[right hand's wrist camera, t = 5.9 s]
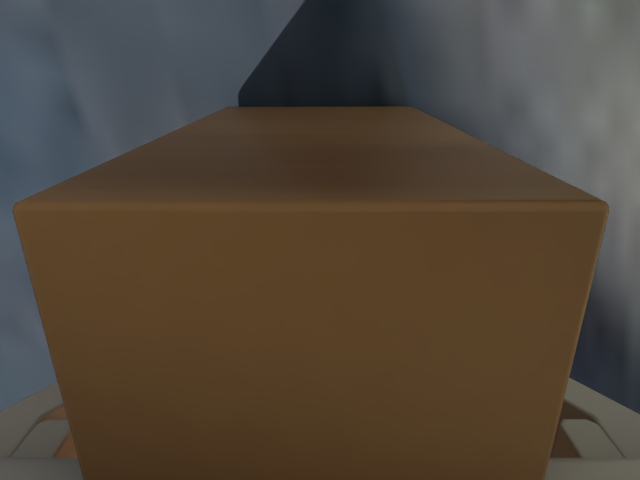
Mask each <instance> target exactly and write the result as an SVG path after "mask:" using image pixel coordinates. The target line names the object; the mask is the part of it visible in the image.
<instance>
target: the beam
mask: <svg viewBox="0 0 640 480" xmlns="http://www.w3.org/2000/svg"><path fill="white" fill-rule="evenodd" d="M608 214H609V207H608V204H607V203H606V202H604V201H602V200H600V199H598V198H596V197H594V196H592V195H590V194H588V193H586V192H584V191H582V190H580V189H578V188H576V187H574V186H572V185H570V184H568V183H566V182H564V181H562V180H560V179H558V178H556V177H554V176H552V175H550V174H548V173H546V172H544V171H542V170H540V169H538V168H536V167H534V166H531V165H529V164H527V163H525V162H523V161H521V160H519V159H517V158H515V157H513V156H511V155H509V154H507V153H505V152H503V151H501V150H499V149H497V148H495V147H493V146H491V145H489V144H487V143H485V142H483V141H481V140H479V139H477V138H475V137H473V136H471V135H469V134H467V133H465V132H463V131H461V130H459V129H457V128H455V127H452V126H450V125H448V124H446V123H444V122H442V121H440V120H438V119H436V118H434V117H432V116H430V115H428V114H426V113H424V112H422V111H420V110H418V109H416V108H414V107H412V106H356V107H226V108H224V109H222V110H220V111H218V112H215V113H213V114H211V115H209V116H207V117H204V118H202V119H200V120H198V121H195V122H193V123H191V124H189V125H187V126H184V127H182V128H180V129H178V130H176V131H173V132H171V133H169V134H167V135H165V136H162V137H160V138H158V139H156V140H154V141H151V142H149V143H147V144H145V145H143V146H140V147H138V148H136V149H134V150H132V151H129V152H127V153H125V154H123V155H121V156H118V157H116V158H114V159H112V160H110V161H107V162H105V163H103V164H101V165H99V166H96V167H94V168H92V169H90V170H88V171H85V172H83V173H81V174H79V175H77V176H74V177H72V178H70V179H68V180H66V181H63V182H61V183H59V184H57V185H54V186H52V187H50V188H48V189H46V190H43V191H41V192H39V193H37V194H35V195H32V196H30V197H28V198H26V199H24V200H21V201H19V202H17V203H15V205H14V206H13V215H14V219H15V223H16V226H17V230H18V234H19V238H20V242H21V245H22V249H23V253H24V257H25V260H26V264H27V268H28V272H29V276H30V279H31V283H32V287H33V291H34V294H35V298H36V302H37V306H38V310H39V313H40V317H41V321H42V325H43V329H44V332H45V336H46V340H47V344H48V347H49V351H50V355H51V359H52V363H53V366H54V370H55V374H56V378H57V381H58V385H59V389H60V393H61V397H62V400H63V404H64V408H65V412H66V416H67V419H68V423H69V427H70V431H71V434H72V438H73V442H74V446H75V450H76V453H77V457H78V461H79V465H80V469H81V472H82V476H83V480H545V475H546V471H547V467H548V463H549V459H550V455H551V451H552V446H553V442H554V438H555V434H556V430H557V426H558V422H559V417H560V413H561V409H562V405H563V401H564V397H565V392H566V388H567V384H568V380H569V376H570V372H571V368H572V363H573V359H574V355H575V351H576V347H577V343H578V339H579V334H580V330H581V326H582V322H583V318H584V314H585V310H586V305H587V301H588V297H589V293H590V289H591V285H592V280H593V276H594V272H595V268H596V264H597V260H598V256H599V251H600V247H601V243H602V239H603V235H604V231H605V227H606V222H607V218H608Z"/></svg>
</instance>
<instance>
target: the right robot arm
mask: <svg viewBox="0 0 640 480" xmlns="http://www.w3.org/2000/svg"><path fill="white" fill-rule="evenodd" d="M0 480H83V476H82V472H81V469H80V465H79V461H78V457H77V453H76V450H75V446H74V442H73V438H72V434H71V431H70V427H69V423H68V419H67V416H66V412H65V408H64V404H63V400H62V397H61V393H60V389H59V385H58V382H56V383H54V384H52V385H50V386H49V387H47V388H45V389H43V390H41V391H39V392H37V393H35V394H33V395H31V396H29V397H27V398H25V399H23V400H21V401H19V402H18V403H16V404H14V405H12V406H10V407H8V408H6V409H4V410H2V411H0ZM545 480H640V414H638V413H636V412H634V411H632V410H630V409H628V408H626V407H625V406H623V405H621V404H619V403H617V402H615V401H613V400H611V399H609V398H607V397H605V396H603V395H602V394H600V393H598V392H596V391H594V390H592V389H590V388H588V387H586V386H584V385H582V384H580V383H579V382H577V381H575V380H573V379H571V378H569V380H568V384H567V388H566V392H565V397H564V401H563V405H562V409H561V413H560V417H559V422H558V426H557V430H556V434H555V438H554V442H553V446H552V451H551V455H550V459H549V463H548V467H547V471H546V475H545Z"/></svg>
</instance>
